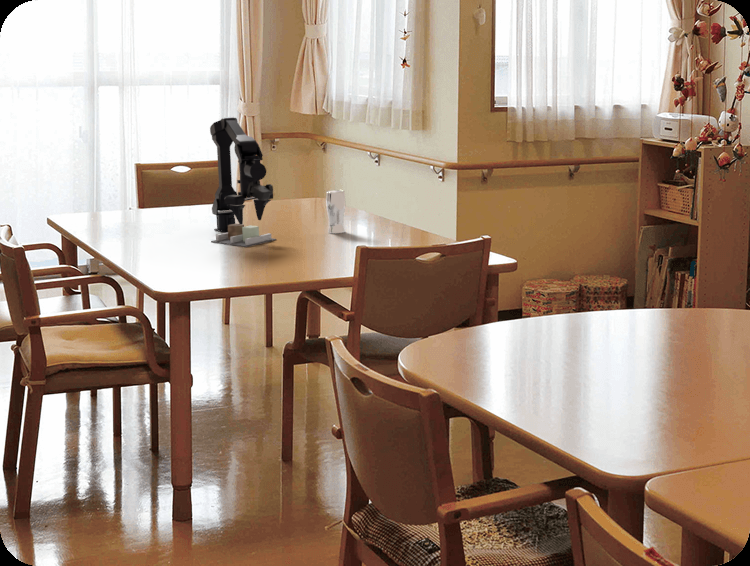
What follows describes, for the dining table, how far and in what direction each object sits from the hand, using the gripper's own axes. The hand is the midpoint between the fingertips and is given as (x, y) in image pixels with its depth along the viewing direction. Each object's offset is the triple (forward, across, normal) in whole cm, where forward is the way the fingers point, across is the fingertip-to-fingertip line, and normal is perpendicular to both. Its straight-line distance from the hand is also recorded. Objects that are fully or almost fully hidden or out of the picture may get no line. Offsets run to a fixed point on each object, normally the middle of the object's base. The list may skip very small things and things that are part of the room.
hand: (250, 222), depth 328 cm
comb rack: (+7, 0, +4) cm, 8 cm away
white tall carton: (+7, +30, -14) cm, 34 cm away
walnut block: (+7, 0, +7) cm, 10 cm away
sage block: (+7, 0, 0) cm, 7 cm away
